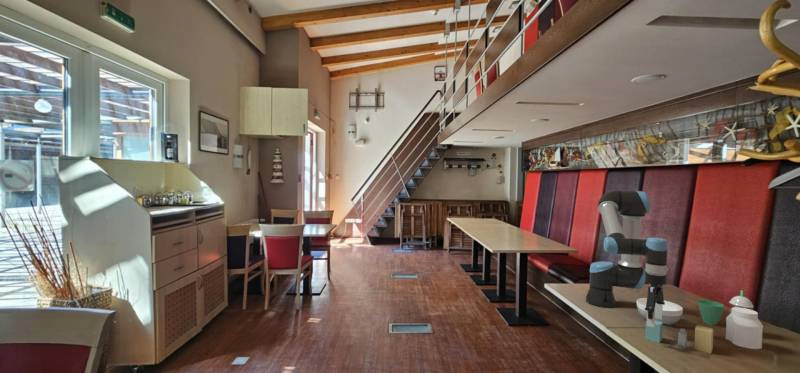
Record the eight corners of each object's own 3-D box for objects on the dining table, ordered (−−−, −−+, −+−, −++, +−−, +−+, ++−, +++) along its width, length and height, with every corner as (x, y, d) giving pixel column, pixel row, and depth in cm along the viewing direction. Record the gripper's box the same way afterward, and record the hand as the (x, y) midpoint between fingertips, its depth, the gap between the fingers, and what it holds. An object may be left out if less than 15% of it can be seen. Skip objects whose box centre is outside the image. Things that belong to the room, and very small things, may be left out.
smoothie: (747, 338, 163) (749, 294, 163) (724, 331, 171) (726, 289, 170) (755, 334, 167) (757, 291, 167) (732, 328, 175) (734, 286, 174)
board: (668, 349, 151) (668, 346, 151) (674, 340, 160) (674, 338, 160) (708, 360, 142) (708, 358, 142) (713, 351, 150) (713, 348, 150)
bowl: (684, 321, 182) (685, 304, 182) (680, 332, 168) (680, 314, 168) (639, 311, 195) (640, 295, 194) (632, 321, 181) (633, 304, 181)
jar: (766, 352, 150) (767, 316, 149) (738, 349, 152) (739, 314, 152) (748, 340, 161) (749, 307, 161) (722, 337, 163) (723, 304, 163)
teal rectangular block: (644, 341, 159) (645, 321, 158) (648, 337, 162) (648, 318, 162) (659, 345, 155) (659, 325, 155) (662, 341, 158) (662, 322, 158)
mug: (726, 328, 174) (727, 308, 174) (700, 324, 178) (701, 304, 178) (716, 318, 187) (717, 299, 187) (692, 314, 191) (693, 296, 191)
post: (677, 347, 151) (678, 329, 151) (679, 345, 153) (679, 327, 153) (685, 349, 149) (686, 331, 149) (686, 347, 151) (687, 329, 151)
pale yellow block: (694, 348, 150) (695, 328, 150) (696, 345, 153) (697, 324, 153) (710, 353, 146) (711, 332, 146) (712, 349, 150) (713, 328, 149)
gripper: (659, 280, 147) (657, 332, 147) (672, 271, 164) (671, 318, 164) (637, 276, 152) (636, 327, 152) (652, 268, 169) (651, 313, 169)
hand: (654, 322), depth 158 cm, fingers open, 13 cm apart
